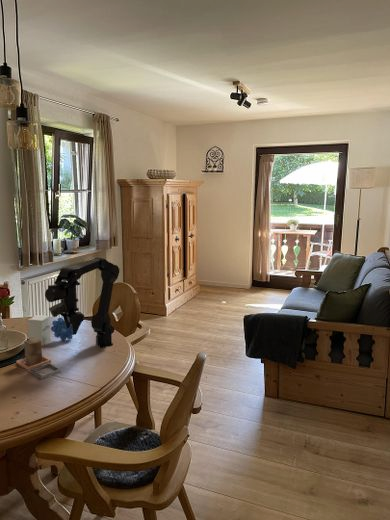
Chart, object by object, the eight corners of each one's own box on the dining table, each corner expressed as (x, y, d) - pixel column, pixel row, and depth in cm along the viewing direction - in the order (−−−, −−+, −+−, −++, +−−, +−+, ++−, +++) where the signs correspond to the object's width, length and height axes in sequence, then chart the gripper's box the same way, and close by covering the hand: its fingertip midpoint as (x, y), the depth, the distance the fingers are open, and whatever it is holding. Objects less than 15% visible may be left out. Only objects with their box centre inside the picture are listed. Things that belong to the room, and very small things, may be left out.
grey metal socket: (49, 365, 165) (49, 362, 165) (61, 371, 160) (60, 368, 159) (30, 372, 158) (30, 369, 158) (41, 379, 153) (41, 376, 153)
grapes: (50, 344, 187) (49, 321, 185) (52, 339, 193) (50, 316, 191) (76, 342, 190) (75, 319, 188) (76, 337, 196) (75, 314, 194)
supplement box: (42, 345, 186) (41, 320, 183) (28, 344, 187) (27, 319, 185) (51, 340, 193) (49, 315, 190) (37, 338, 194) (36, 314, 192)
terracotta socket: (39, 355, 174) (38, 353, 174) (51, 362, 168) (51, 359, 168) (16, 363, 167) (16, 360, 166) (28, 370, 160) (28, 367, 160)
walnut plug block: (36, 359, 171) (35, 338, 169) (42, 362, 167) (41, 340, 166) (25, 363, 167) (24, 341, 165) (31, 366, 164) (29, 344, 162)
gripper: (44, 294, 169) (46, 328, 172) (56, 304, 154) (58, 342, 157) (70, 291, 175) (71, 323, 178) (84, 300, 160) (85, 336, 163)
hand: (71, 331), depth 169 cm, fingers open, 9 cm apart
